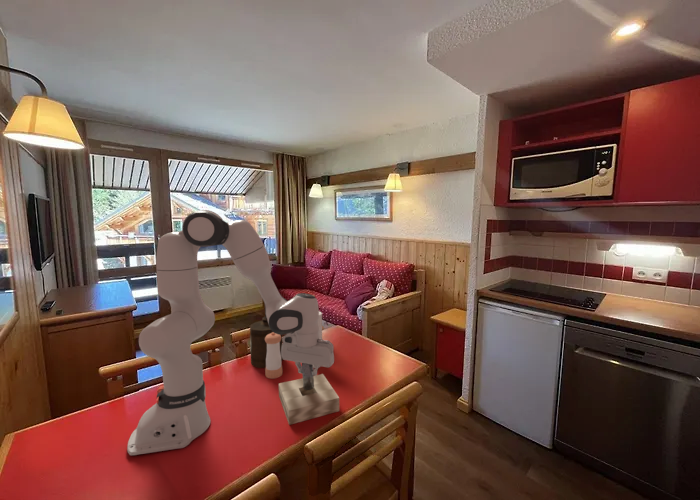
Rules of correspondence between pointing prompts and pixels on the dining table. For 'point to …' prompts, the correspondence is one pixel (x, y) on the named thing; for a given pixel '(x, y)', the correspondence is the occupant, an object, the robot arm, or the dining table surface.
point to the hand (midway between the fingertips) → (307, 373)
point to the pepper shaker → (273, 356)
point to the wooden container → (260, 342)
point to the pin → (307, 376)
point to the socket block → (307, 399)
